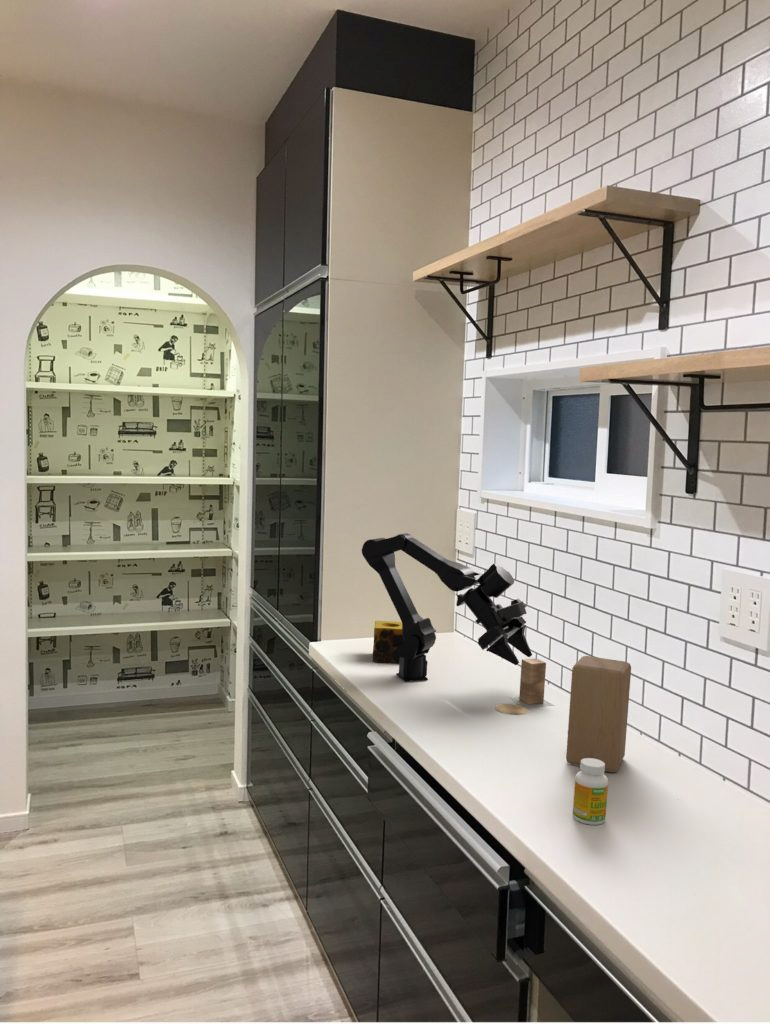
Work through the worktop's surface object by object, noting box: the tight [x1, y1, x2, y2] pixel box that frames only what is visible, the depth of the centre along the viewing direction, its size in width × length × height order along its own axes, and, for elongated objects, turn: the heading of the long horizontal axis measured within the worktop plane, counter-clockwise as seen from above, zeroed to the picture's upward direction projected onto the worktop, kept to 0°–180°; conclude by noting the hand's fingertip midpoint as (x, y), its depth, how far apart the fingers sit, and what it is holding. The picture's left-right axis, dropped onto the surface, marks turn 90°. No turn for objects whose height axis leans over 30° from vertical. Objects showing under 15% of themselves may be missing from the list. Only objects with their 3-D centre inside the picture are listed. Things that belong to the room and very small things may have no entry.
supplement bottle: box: [572, 758, 609, 826], centre depth 140 cm, size 5×5×10 cm
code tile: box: [508, 696, 555, 709], centre depth 202 cm, size 8×8×1 cm
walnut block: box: [518, 657, 547, 705], centre depth 202 cm, size 4×4×10 cm
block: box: [565, 655, 632, 774], centre depth 165 cm, size 10×10×20 cm
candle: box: [372, 620, 404, 665], centre depth 236 cm, size 10×10×10 cm
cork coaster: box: [494, 703, 529, 716], centre depth 195 cm, size 8×8×1 cm
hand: (524, 660), depth 203 cm, fingers open, 9 cm apart
